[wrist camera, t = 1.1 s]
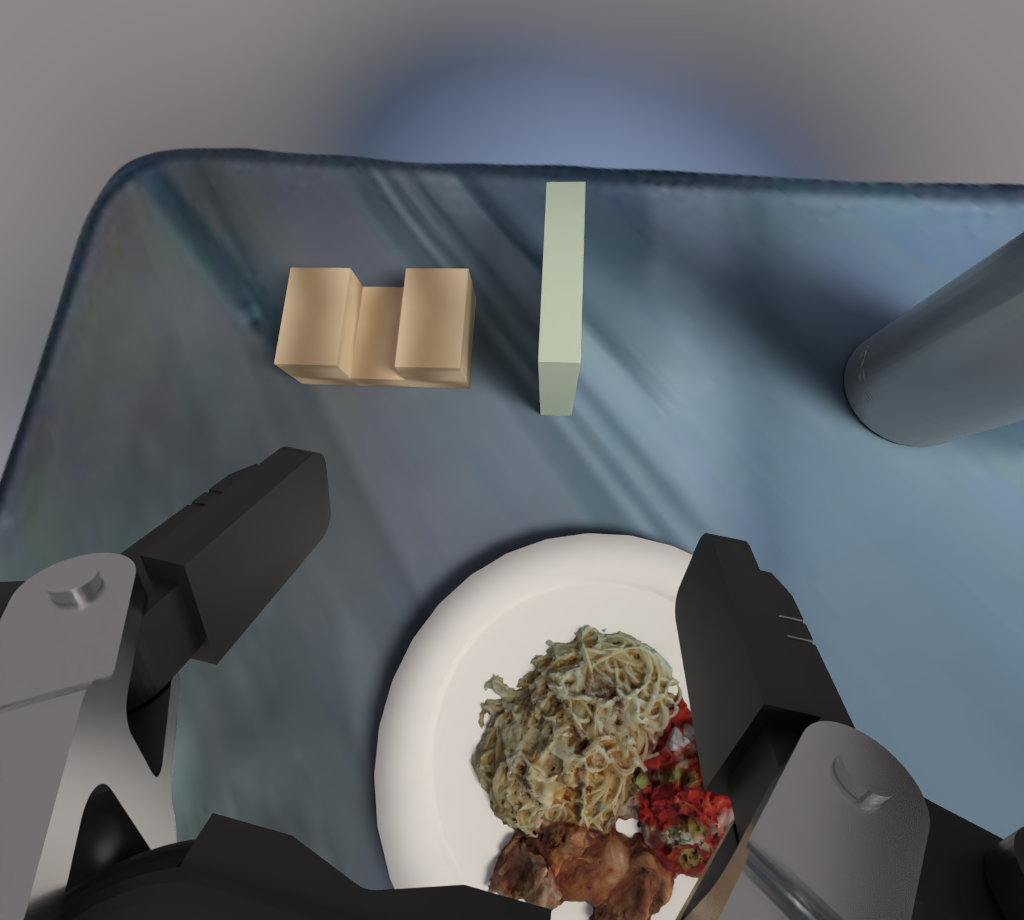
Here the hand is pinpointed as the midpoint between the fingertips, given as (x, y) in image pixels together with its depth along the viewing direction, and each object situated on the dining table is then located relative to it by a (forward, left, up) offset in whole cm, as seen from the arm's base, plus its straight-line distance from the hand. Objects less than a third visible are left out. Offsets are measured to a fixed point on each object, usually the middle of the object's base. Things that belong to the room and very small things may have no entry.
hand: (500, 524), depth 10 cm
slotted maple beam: (+13, -16, -25) cm, 32 cm away
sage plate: (-1, -16, -25) cm, 30 cm away
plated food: (-5, +14, -25) cm, 29 cm away
